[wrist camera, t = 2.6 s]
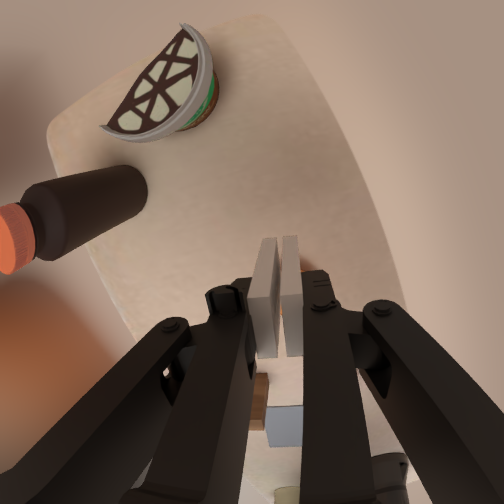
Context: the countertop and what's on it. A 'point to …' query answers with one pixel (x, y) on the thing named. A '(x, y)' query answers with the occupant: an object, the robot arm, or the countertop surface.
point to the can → (287, 495)
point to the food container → (169, 92)
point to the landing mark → (284, 426)
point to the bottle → (67, 214)
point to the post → (259, 402)
